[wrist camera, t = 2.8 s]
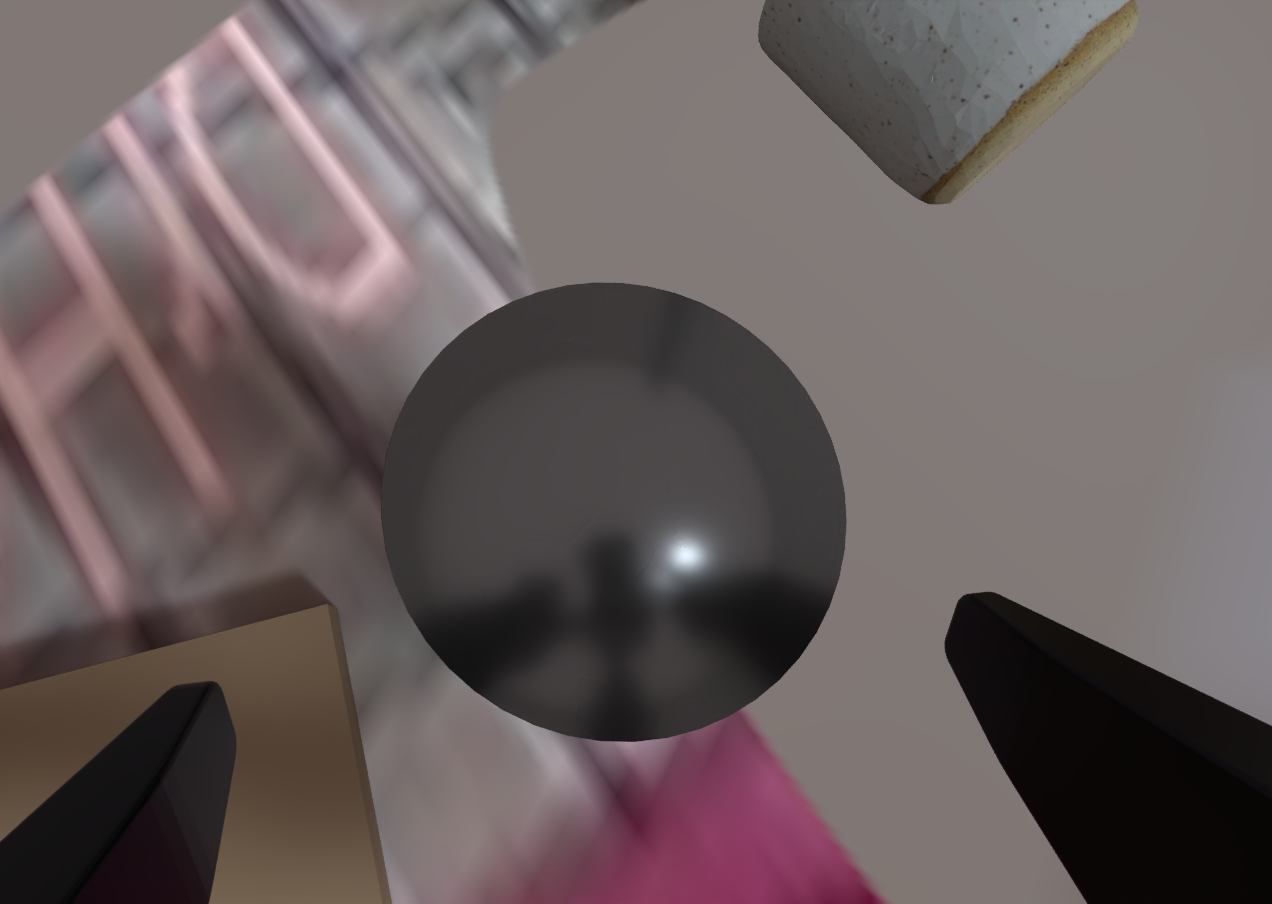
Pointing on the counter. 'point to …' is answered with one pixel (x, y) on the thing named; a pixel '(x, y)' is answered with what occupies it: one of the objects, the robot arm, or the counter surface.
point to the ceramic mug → (942, 75)
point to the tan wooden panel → (265, 757)
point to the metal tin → (613, 512)
